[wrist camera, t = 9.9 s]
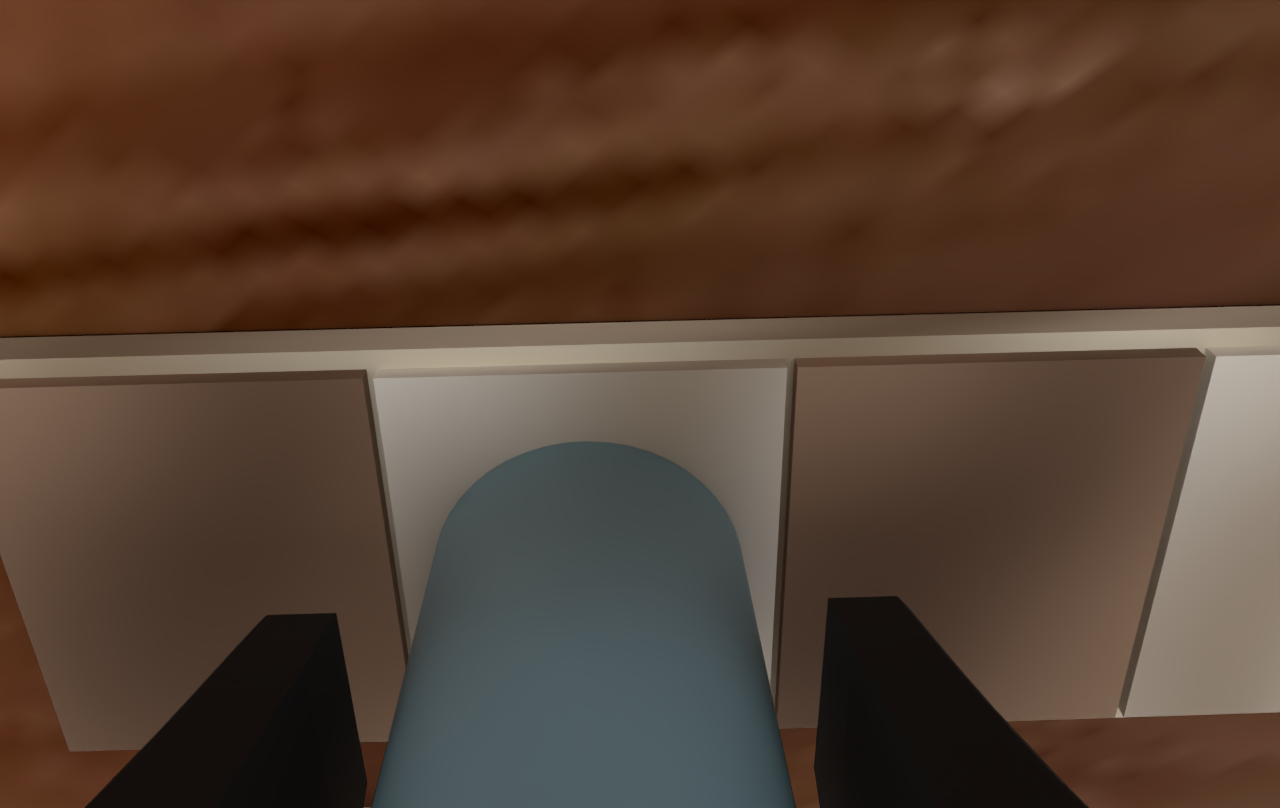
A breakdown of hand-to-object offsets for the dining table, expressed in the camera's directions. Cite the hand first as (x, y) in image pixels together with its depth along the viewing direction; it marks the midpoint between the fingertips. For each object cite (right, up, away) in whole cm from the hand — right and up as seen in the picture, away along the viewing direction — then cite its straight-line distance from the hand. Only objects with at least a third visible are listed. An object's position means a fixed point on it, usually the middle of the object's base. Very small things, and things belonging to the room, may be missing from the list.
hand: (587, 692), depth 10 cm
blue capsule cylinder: (0, +1, +1) cm, 2 cm away
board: (+2, +1, +2) cm, 3 cm away
